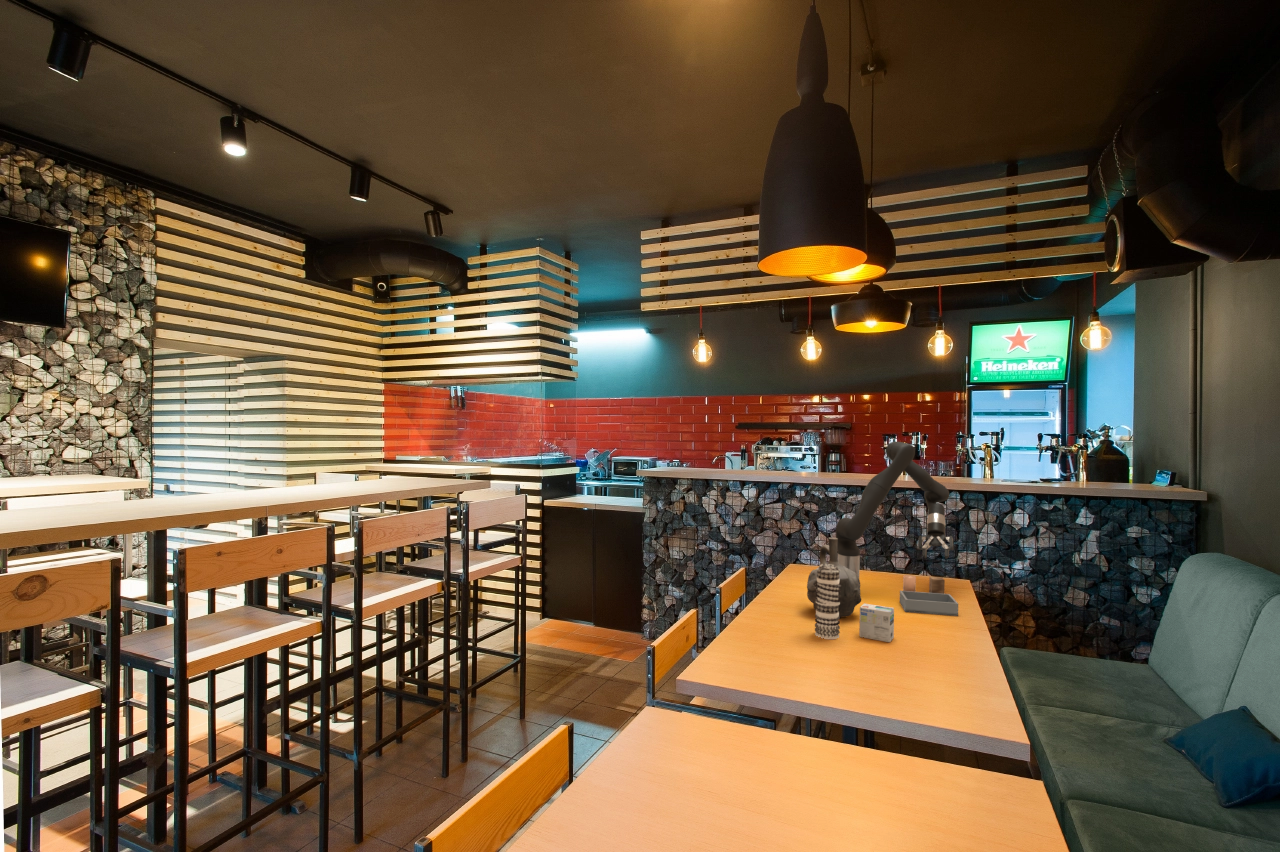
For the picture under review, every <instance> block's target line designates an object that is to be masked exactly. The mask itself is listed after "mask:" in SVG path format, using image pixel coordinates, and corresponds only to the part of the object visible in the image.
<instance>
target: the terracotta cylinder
mask: <svg viewBox="0 0 1280 852" xmlns="http://www.w3.org/2000/svg"><path fill="white" fill-rule="evenodd" d="M902 577H903V578H902V579H903V580H902V582H903V583H902V591H913V592H917V591H916V588H917V587H916V585H917V584H916V583H917V576H916V575H911V574H904V575H903V576H902Z"/></svg>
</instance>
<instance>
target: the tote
mask: <svg viewBox="0 0 1280 852" xmlns="http://www.w3.org/2000/svg"><path fill="white" fill-rule="evenodd" d="M899 603H900V606H901V608H902V609H903V611H904V612H905V613H913V614H914V613H915V614H924V615H925V614H927V615H936V616H937V615H940V616H950V617H959V603H958V602H957V600H956V599H955V597H953V596H952V595H951V594H950V593H944V594H940V593H929V592H925V591H916V592H913V591H903V590H899Z"/></svg>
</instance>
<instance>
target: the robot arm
mask: <svg viewBox="0 0 1280 852" xmlns="http://www.w3.org/2000/svg"><path fill="white" fill-rule="evenodd" d="M885 454H886V456H887V458H888V459H889V460H890V461H891V462H890V464H889V465H888V466H887V467H886V468H884V469H883V470H882V471H880V472H879V473H877V474H876V475H874V476H873V477H872V478H871V479H870V480H869V482H868V483H867V484H866V486H865V488H864V490H863V491H862V494H861V497H860V498H861V499H860V505H859V507H858V509H857V510H856V511H855V513H854V515H853V516H852V518H850V517H843V518H840V519H839V520H838V521H837V523H836V527H835V538H838V545H837V561H838V563H839V565H841V566H844V567H846V568H848V569H849V570H851V571H853V572H855V573H856V574H857V576H858V577H859V578H860V566H861V565H860V559H861V558H860V554H861V550H860V548H859V546H858V545H857V541H858V540H859V539H860V538H862V536H863V534H865V531H866V530H867V527H868V526H869V523H870V522H871V519H873V516H874V515H875V513H876V512H877V510H878V508H879V507H880V506H881V504H882V503H883V501H884V500H885V498H886V497H887V495H888V494H889V492H890V490H891V489H892V488H893V486H894V484H895V483H896V482H897V480H898V479H899V478H900V476H901V475H902V474H903V472H905V474H907V475H908V476H909V477H910V478H911V480H913V481H914V483H915V484H916V485H917V486H918V487H919V489H920V490H922V491H924V499H925V502H926V505H927V520H926V536H922V535H921V534H920V535H919V536H918V545H917V547H918V549H919V551H920V550H921V551H922V557H923V558H924V559H927V550H928V549H929V548H931V546H932V547H942V548H943V549H944V558H945V559H946V560H947V559H948V558H949V557H950V551H954V550H955V549H954V538H953V536H952V535H949V536H946V517H945V515H946V514H945V513H946V510H945V506H944V505H943V504H942V503H941V502H947V500H948V499H949V498H950V491H949V489H948V488H947V487H946V486H945V485H944V484H943V483H940V482H939V481H937V480H935V479H934V478H933V477H932V476H931V474H929V472H928V471H927V470H926V469H924V468H923V467H922V466H920V465H919V464H918V463H916V462H915V461H914V458H915V455H916V448H915V446H914V445H912V444H910V443H907V442H901V441H892V442H890V443H889V444H887V446H886V450H885ZM925 541H926V542H925ZM946 541H947V542H948V543H949V546H948V545H947V544H946ZM924 542H925V543H924ZM923 543H924V545H923Z"/></svg>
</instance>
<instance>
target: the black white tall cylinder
mask: <svg viewBox="0 0 1280 852" xmlns="http://www.w3.org/2000/svg"><path fill="white" fill-rule="evenodd" d="M818 567H819V568H818ZM818 567H817V568H816V569H817V581H816V582H815V586H817V587H816V588H815V591H816V592H815V595H816V596H817V597H816V598H815V600H816V603H817V609H816V611H815V614H814V617H815V619H814V621H815V624H814V631H815V632H814V635H815V637H817V636H818V637H817V638H819V637H821V638H820V639H823V638H824V640H838V639H839V638H840V633H841V632H840V631H841V630H840V629H841V627H840V622H841V621H840V620H841V617H839V611H838V610H839V605H840V601H841V600H840V599H839V598H840V597H841V596H840V595H839V594H838V593H839V592H841V589H839V588H840V587H841V585H840V584H839V582H840V579H839V571H840V570H839V569H838V568H837V566H835V565H832V564H828V563H827V564H821V565H820V564H819V566H818ZM817 584H818V585H817ZM837 638H838V639H837Z"/></svg>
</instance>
